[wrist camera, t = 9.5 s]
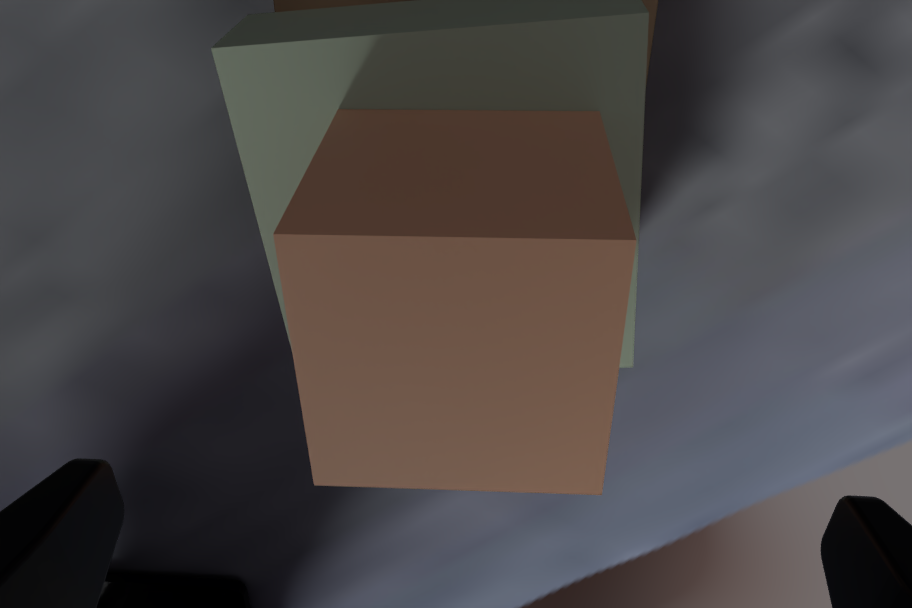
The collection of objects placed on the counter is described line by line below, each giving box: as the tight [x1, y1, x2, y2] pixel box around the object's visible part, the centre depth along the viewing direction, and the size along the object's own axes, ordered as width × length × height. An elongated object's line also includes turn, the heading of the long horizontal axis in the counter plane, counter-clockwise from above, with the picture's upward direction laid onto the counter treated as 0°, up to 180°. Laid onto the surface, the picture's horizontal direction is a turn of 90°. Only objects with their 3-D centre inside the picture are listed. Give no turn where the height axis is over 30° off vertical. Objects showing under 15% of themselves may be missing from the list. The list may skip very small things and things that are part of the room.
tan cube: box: [273, 109, 637, 495], centre depth 14 cm, size 5×5×5 cm
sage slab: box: [211, 0, 649, 368], centre depth 17 cm, size 8×8×2 cm
